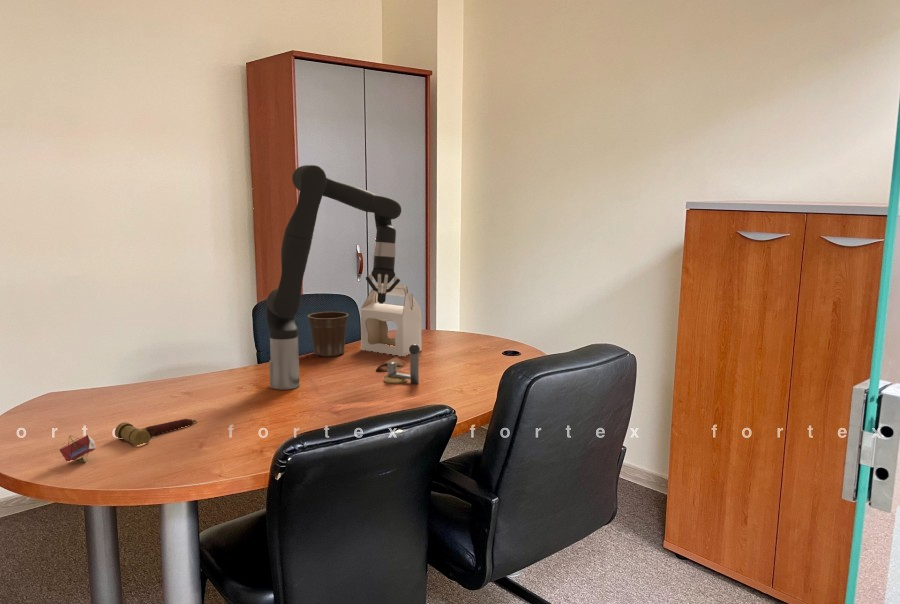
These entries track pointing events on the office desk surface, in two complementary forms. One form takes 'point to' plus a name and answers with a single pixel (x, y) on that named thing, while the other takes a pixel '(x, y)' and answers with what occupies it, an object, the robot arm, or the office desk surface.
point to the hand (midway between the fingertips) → (381, 303)
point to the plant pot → (328, 332)
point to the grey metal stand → (400, 377)
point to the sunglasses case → (399, 362)
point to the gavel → (147, 430)
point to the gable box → (378, 314)
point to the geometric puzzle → (78, 448)
